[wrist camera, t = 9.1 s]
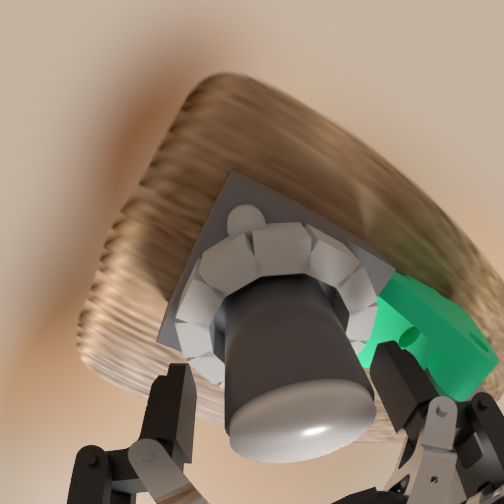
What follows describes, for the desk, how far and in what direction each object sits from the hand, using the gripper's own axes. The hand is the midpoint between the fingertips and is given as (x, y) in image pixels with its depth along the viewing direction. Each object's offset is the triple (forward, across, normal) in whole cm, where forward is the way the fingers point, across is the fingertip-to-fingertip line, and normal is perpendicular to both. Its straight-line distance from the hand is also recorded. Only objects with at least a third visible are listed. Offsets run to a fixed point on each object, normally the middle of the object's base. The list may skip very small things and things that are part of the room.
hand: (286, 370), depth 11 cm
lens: (+4, 0, -1) cm, 4 cm away
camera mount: (+8, -11, +5) cm, 15 cm away
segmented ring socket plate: (+8, 0, 0) cm, 8 cm away
